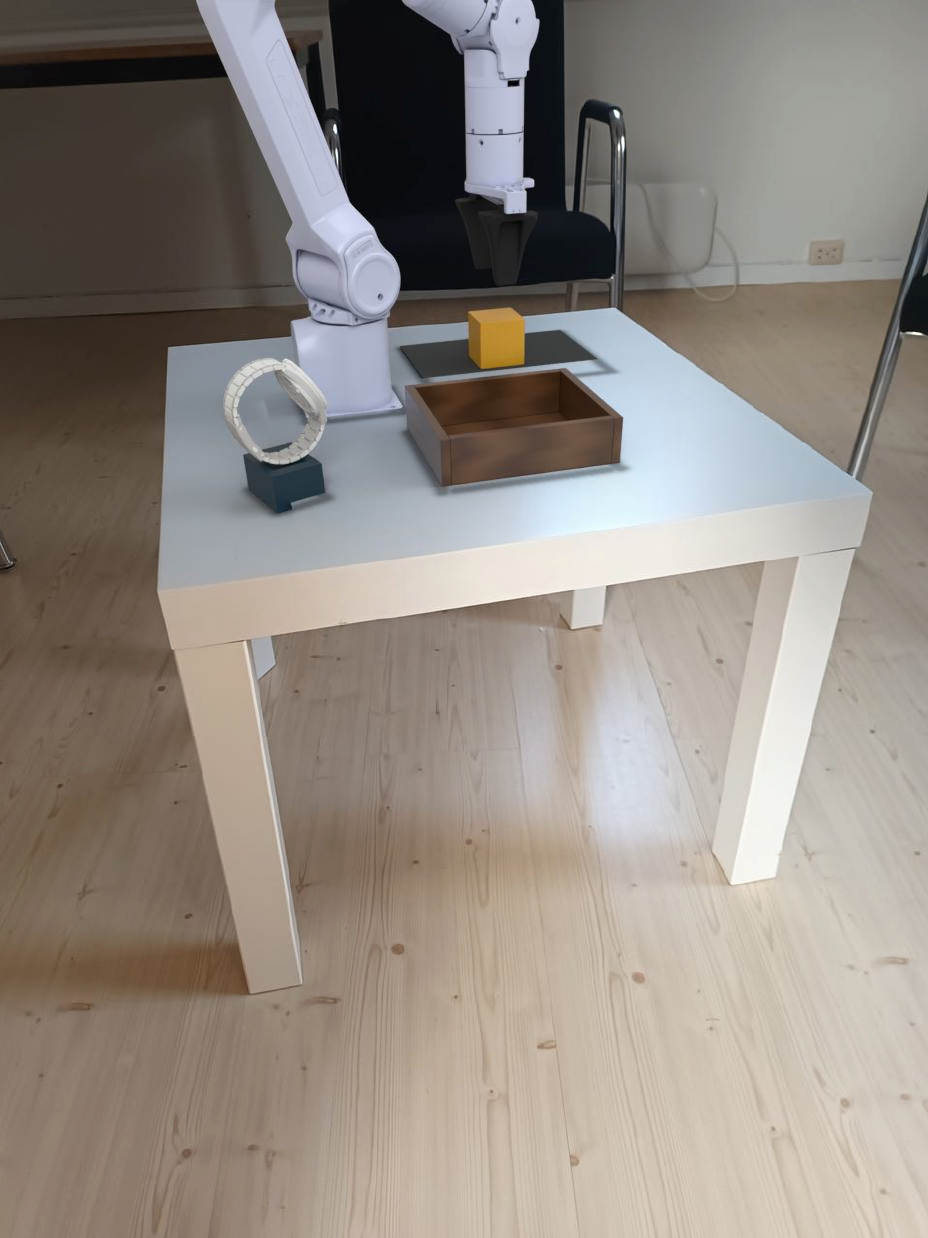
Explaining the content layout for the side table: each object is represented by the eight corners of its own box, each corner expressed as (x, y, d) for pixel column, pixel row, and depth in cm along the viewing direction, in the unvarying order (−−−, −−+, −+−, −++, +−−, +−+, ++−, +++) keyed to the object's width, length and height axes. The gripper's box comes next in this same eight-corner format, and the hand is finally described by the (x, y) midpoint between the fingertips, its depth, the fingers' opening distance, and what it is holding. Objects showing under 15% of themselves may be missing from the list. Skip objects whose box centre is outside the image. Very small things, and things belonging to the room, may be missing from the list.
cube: (480, 369, 101) (480, 323, 98) (468, 356, 105) (467, 311, 102) (524, 364, 102) (525, 318, 99) (510, 351, 106) (510, 307, 103)
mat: (431, 392, 96) (431, 389, 95) (400, 348, 109) (399, 345, 108) (611, 371, 100) (611, 369, 100) (560, 331, 113) (560, 329, 113)
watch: (347, 492, 76) (333, 360, 70) (256, 519, 72) (234, 382, 66) (315, 470, 80) (300, 343, 74) (228, 494, 76) (205, 362, 70)
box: (442, 493, 75) (440, 439, 73) (407, 433, 86) (404, 385, 84) (619, 468, 79) (623, 417, 76) (563, 414, 90) (565, 367, 87)
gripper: (558, 137, 86) (553, 288, 93) (511, 123, 97) (510, 258, 105) (485, 141, 84) (486, 294, 92) (446, 126, 96) (450, 263, 103)
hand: (494, 275), depth 98 cm, fingers open, 7 cm apart
